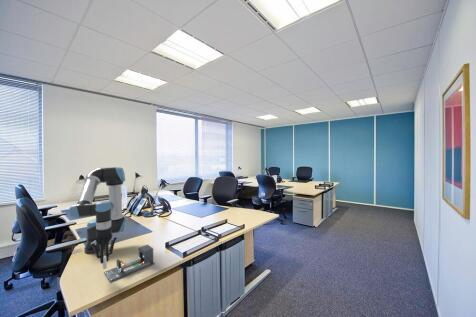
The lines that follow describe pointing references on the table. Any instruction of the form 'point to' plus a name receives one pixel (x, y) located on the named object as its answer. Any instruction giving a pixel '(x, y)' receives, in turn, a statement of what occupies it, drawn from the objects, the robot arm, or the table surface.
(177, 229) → the table surface
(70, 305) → the table surface
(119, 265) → the orange-striped grey block
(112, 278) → the gauge base
